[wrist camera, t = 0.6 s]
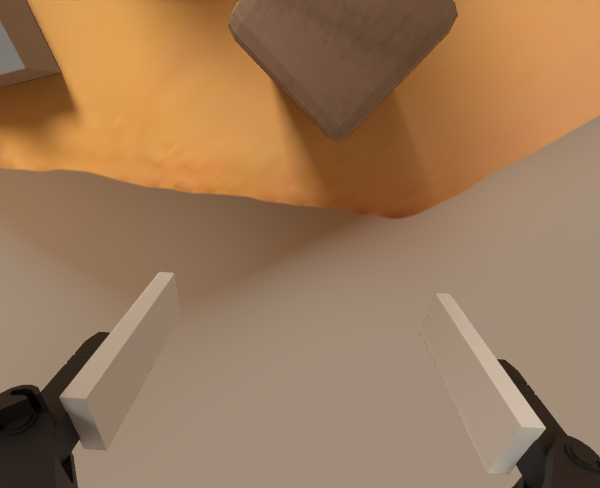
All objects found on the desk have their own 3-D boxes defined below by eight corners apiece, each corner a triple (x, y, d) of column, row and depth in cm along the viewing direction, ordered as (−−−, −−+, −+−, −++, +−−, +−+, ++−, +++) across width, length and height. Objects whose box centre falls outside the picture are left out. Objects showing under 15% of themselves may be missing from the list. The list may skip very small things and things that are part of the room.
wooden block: (322, 124, 37) (338, 149, 19) (262, 61, 34) (216, 22, 16) (383, 57, 34) (472, 13, 16) (323, -19, 31) (349, -180, 13)
